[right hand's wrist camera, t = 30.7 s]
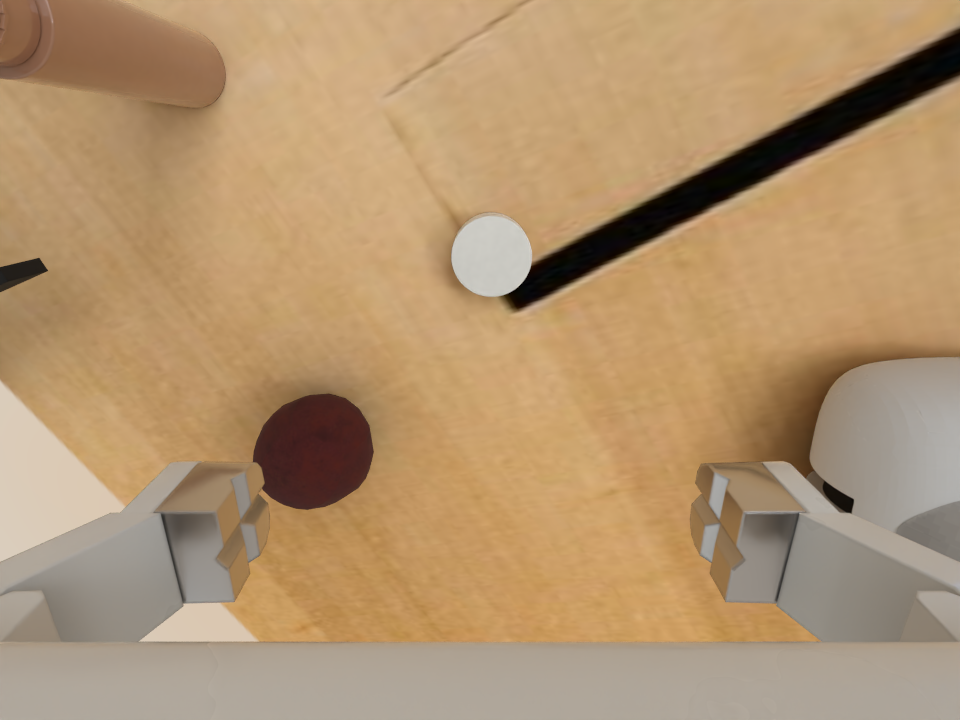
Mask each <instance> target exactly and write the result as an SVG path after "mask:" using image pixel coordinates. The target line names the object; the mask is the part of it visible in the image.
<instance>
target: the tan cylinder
mask: <svg viewBox="0 0 960 720" xmlns="http://www.w3.org/2000/svg"><path fill="white" fill-rule="evenodd" d="M0 79H7V80H13V81H20V82H26V83H33V84H39V85H46V86H53V87H59V88H66V89H72V90H79V91H85V92H92V93H98V94H105V95H111V96H118V97H124V98H131V99H137V100H144V101H150V102H157V103H163V104H170V105H176V106H183V107H189V108H202V107H206V106H208V105H210V104H212V103H213V102H214V101H215V100H217V98H218V97H219V96H220V94H221V92H222V90H223V88H224V84H225V67H224V63H223V60H222V58H221V55H220V53H219V51H218V50H217V48H216V47H215V46H214V44H213V43H212V42H211V41H210V40H209V39H208V38H206V37H205V36H204V35H202V34H201V33H199V32H197V31H194V30H192V29H190V28H187V27H185V26H183V25H180V24H178V23H175V22H173V21H171V20H168V19H166V18H164V17H161V16H159V15H157V14H154V13H152V12H150V11H147V10H145V9H142V8H140V7H138V6H135V5H133V4H131V3H128V2H126V1H124V0H0Z"/></svg>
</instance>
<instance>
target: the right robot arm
mask: <svg viewBox="0 0 960 720" xmlns="http://www.w3.org/2000/svg"><path fill="white" fill-rule="evenodd" d="M264 484H265V482H264V477H263V472H262V468H261V467H260V466H259V465H258V463H254V462H201V461H179V462H173V463H170V464H169V465H168V466H167V467H166V468H165V469H164V470H163V471H162V472H161V473H160V474H159V475H158V476H157V477H156V478H155V479H154V480H153V481H152V482H151V483H150V484H149V485H148V486H147V487H146V488H145V489H144V490H143V491H142V492H141V493H140V494H138V495H137V496H136V497H135V498H134V499H133V500H132V501H131V502H130V503H129V504H128V505H127V506H126V507H125V508H124V509H123V510H122V511H121V512H120V513H109V514H107V515H105V516H103V517H100V518H98V519H96V520H94V521H91V522H89V523H87V524H85V525H82V526H80V527H78V528H76V529H74V530H71V531H69V532H67V533H64V534H62V535H60V536H58V537H55V538H53V539H51V540H49V541H46V542H44V543H42V544H40V545H37V546H35V547H33V548H31V549H28V550H26V551H24V552H22V553H19V554H17V555H15V556H13V557H10V558H8V559H6V560H4V561H1V562H0V720H960V562H958V561H956V560H954V559H952V558H949V557H947V556H945V555H943V554H940V553H938V552H936V551H934V550H931V549H929V548H927V547H925V546H922V545H920V544H918V543H916V542H913V541H911V540H909V539H907V538H904V537H902V536H900V535H898V534H895V533H893V532H891V531H889V530H886V529H884V528H882V527H880V526H877V525H875V524H873V523H871V522H869V521H866V520H864V519H862V518H860V517H857V516H855V515H853V514H851V513H840V512H839V511H838V510H837V509H836V508H835V507H834V506H833V505H832V504H831V503H830V502H829V501H828V500H827V499H826V498H825V497H824V496H823V495H822V494H821V493H820V492H819V491H818V490H817V489H816V488H815V487H814V486H813V485H812V484H811V483H809V482H808V481H807V480H806V479H805V478H804V477H803V476H802V475H801V474H800V473H799V472H798V471H797V470H796V469H795V468H794V467H793V466H792V465H791V464H790V463H787V462H785V461H768V462H735V463H703V464H701V465H700V467H699V469H698V471H697V476H696V482H695V484H696V485H697V487H698V488H699V490H700V491H701V493H702V494H701V495H700V496H699V497H698V498H697V499H696V500H695V501H694V502H693V503H692V507H691V515H690V526H691V535H692V538H693V541H694V545H695V547H696V549H697V551H698V553H699V554H700V556H702V557H703V558H705V559H706V560H708V561H709V562H711V563H712V564H711V569H710V575H711V576H712V578H713V580H714V582H715V584H716V585H717V587H718V589H719V591H720V593H721V594H722V596H723V598H724V600H725V602H742V603H777V605H776V606H777V607H779V608H780V609H781V610H782V611H784V612H785V613H786V614H787V615H789V616H790V617H791V618H793V619H794V620H795V621H796V622H798V623H799V624H800V625H801V626H803V627H804V628H805V629H807V630H808V631H809V632H810V633H812V634H813V635H814V636H815V637H817V638H818V639H819V640H821V641H822V642H138V641H140V640H141V639H142V638H143V637H145V636H146V635H147V634H148V633H150V632H151V631H152V630H154V629H155V628H156V627H157V626H159V625H160V624H161V623H163V622H164V621H165V620H166V619H168V618H169V617H170V616H171V615H173V614H174V613H175V612H176V611H178V610H179V609H180V608H182V607H183V603H217V602H235V600H236V598H237V596H238V595H239V593H240V591H241V589H242V587H243V585H244V584H245V582H246V580H247V578H248V576H249V575H250V569H249V564H248V563H249V562H251V561H252V560H254V559H255V558H257V557H258V556H260V554H261V553H262V551H263V549H264V547H265V545H266V542H267V537H268V533H269V529H270V513H269V506H268V503H267V502H266V501H265V500H264V499H263V498H262V497H261V496H260V495H259V494H258V493H259V491H260V490H261V488H262V487H263V485H264Z"/></svg>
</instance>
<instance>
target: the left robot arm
mask: <svg viewBox="0 0 960 720" xmlns="http://www.w3.org/2000/svg"><path fill="white" fill-rule="evenodd" d="M46 271H48V270H47V269H46V267H45V266H44V264H43V263H42V261H41V260H40V258H37V259H33V260H29V261H25V262H20V263H16V264H12V265H8V266H4V267H0V292H2V291H4V290H6V289H9V288H11V287H13V286H15V285H17V284H20V283H22V282H24V281H26V280H29V279H31V278H33V277H35V276H38V275H40V274H42V273H44V272H46Z"/></svg>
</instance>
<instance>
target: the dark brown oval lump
mask: <svg viewBox="0 0 960 720" xmlns="http://www.w3.org/2000/svg"><path fill="white" fill-rule="evenodd" d="M373 452H374V451H373V445H372V439H371V433H370V427H369V424H368V423H367V421H366V419H365V418H364V416H363V415H362V413H361V411H360V410H359V409H358V408H357V407H356V406H355V405H353V404H352V403H351V402H349V401H348V400H347V399H346V398H342V397H339V396H335V395H332V394H319V395H309V396H305V397H302V398H300V399H298V400H295V401H293V402H290V403H288V404H285V405H283V406H282V407H281V408H280V409H279V410H277V411H276V412H275V413H274V414H273V415H272V416H271V417H270V419H269V420H268V421H267V422H266V423H265V425H264V426H263V428H262V430H261V432H260V435H259V437H258V439H257V442H256V446H255V449H254V456H253V462H254V463H258V465H259V466H260V467H261V468H262V472H263V477H264V482H265V484H264V485H263V487H262V489H263V491H265V492H266V493H267V494H268V495H269V496H270V497H271V498H272V499H274V500H276V501H278V502H280V503H281V504H283V505H286V506H290V507H293V508H296V509H306V510H308V509H314V508H320V507H325V506H328V505H330V504H333V503H335V502H337V501H339V500H340V499H342V498H344V497H345V496H347V495H348V494H350V493H351V492H353V491H354V490H356V489H357V488H359V486H360V485H361V484H362V482H363V481H364V480H365V479H366V477H367V474H368V472H369V469H370V465H371V461H372V457H373Z"/></svg>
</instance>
